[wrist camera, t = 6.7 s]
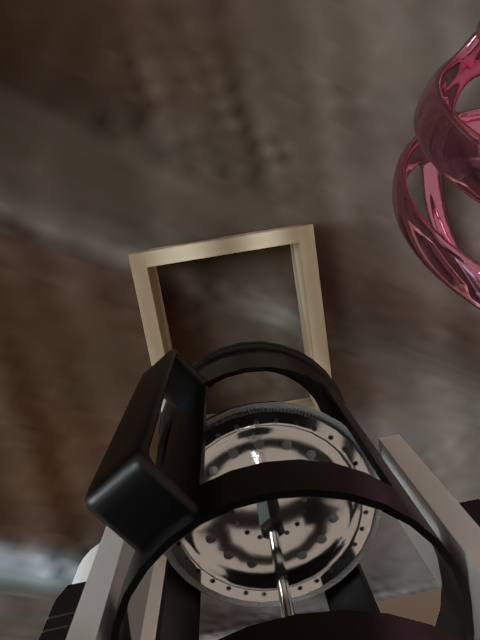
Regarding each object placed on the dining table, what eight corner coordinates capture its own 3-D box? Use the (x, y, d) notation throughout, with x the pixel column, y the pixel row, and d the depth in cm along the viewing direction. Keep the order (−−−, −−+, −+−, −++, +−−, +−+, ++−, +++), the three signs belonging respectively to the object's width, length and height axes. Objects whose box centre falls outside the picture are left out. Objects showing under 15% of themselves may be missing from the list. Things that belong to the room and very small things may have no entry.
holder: (176, 431, 43) (171, 458, 38) (139, 250, 39) (128, 254, 35) (324, 406, 43) (337, 429, 39) (301, 224, 40) (313, 224, 35)
